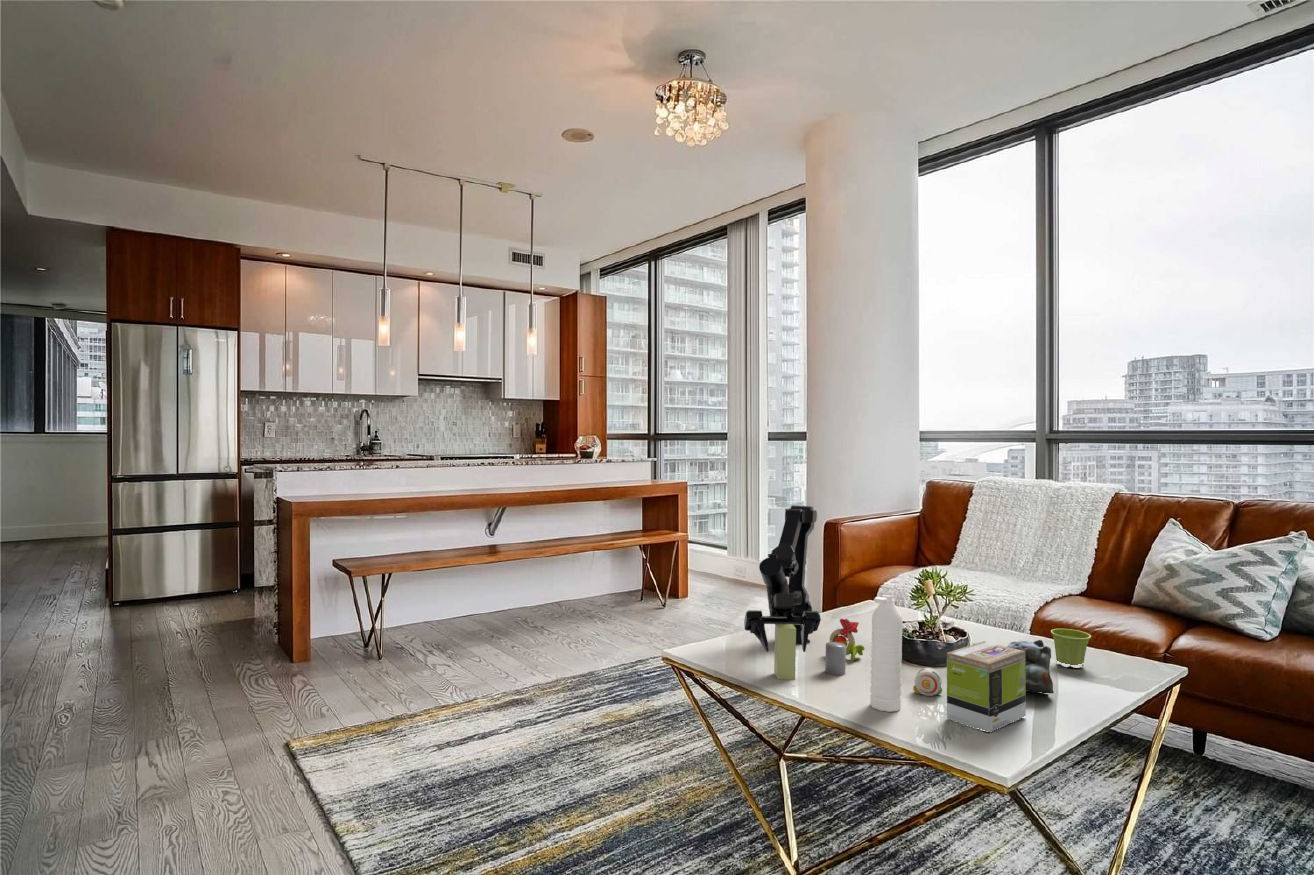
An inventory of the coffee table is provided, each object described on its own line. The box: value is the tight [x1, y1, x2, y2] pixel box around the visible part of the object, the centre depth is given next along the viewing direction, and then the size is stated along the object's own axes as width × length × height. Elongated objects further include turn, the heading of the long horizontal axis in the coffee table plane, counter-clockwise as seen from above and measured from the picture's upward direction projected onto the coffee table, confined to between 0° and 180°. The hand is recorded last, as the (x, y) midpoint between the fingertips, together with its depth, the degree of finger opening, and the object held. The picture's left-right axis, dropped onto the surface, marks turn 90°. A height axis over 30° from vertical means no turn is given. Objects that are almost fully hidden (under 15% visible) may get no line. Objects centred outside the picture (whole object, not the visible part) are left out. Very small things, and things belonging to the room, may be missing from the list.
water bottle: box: [869, 594, 904, 713], centre depth 166 cm, size 9×6×25 cm
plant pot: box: [1050, 628, 1092, 665], centre depth 199 cm, size 9×9×9 cm
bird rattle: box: [828, 618, 865, 662], centre depth 203 cm, size 6×11×9 cm
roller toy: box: [912, 667, 943, 697], centre depth 176 cm, size 4×6×6 cm
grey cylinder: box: [824, 642, 847, 677], centre depth 191 cm, size 5×5×7 cm
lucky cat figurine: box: [1006, 639, 1055, 694], centre depth 180 cm, size 15×12×14 cm
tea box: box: [946, 641, 1027, 733], centre depth 161 cm, size 15×10×15 cm, turn 127°
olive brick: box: [773, 624, 797, 680], centre depth 187 cm, size 4×4×12 cm
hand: (786, 651), depth 185 cm, fingers open, 9 cm apart
